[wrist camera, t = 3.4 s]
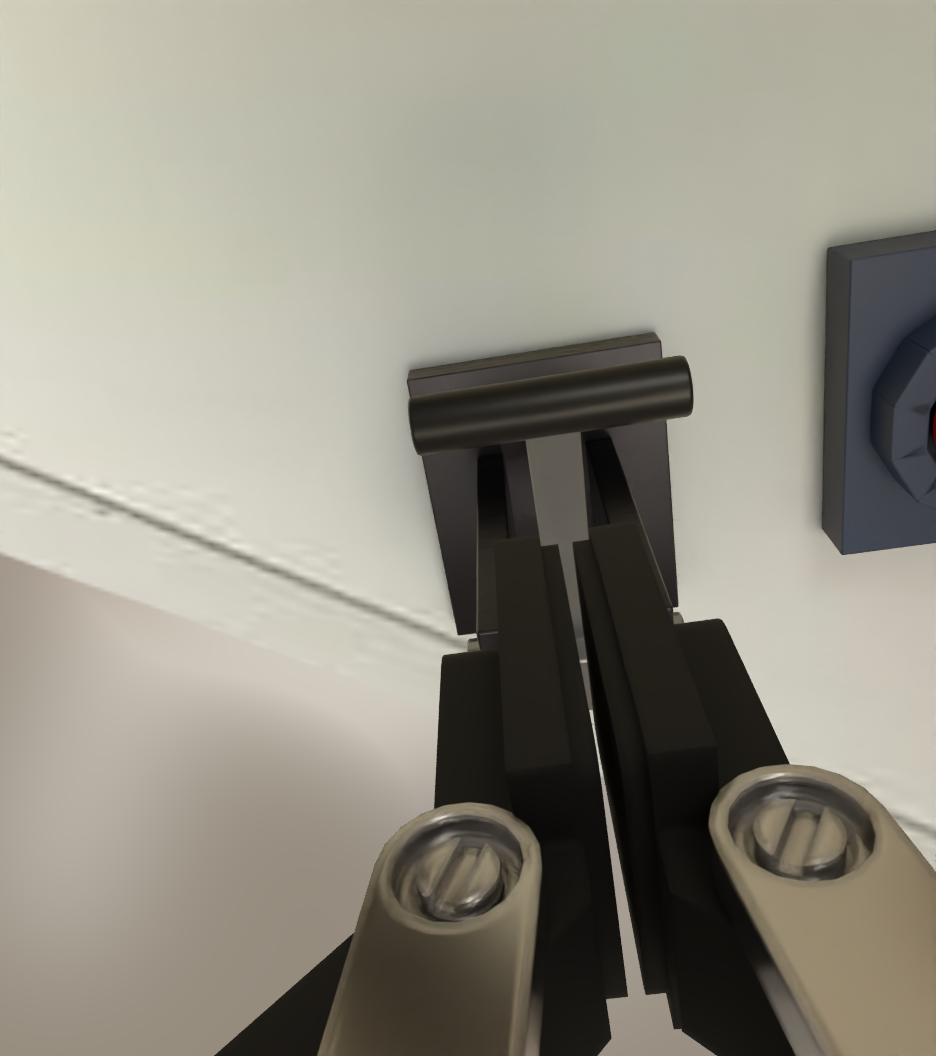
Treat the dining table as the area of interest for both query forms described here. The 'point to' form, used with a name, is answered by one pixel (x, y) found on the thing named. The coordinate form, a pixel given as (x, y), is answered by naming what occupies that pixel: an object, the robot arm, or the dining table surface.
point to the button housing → (880, 394)
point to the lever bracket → (506, 488)
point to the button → (934, 428)
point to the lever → (554, 437)
